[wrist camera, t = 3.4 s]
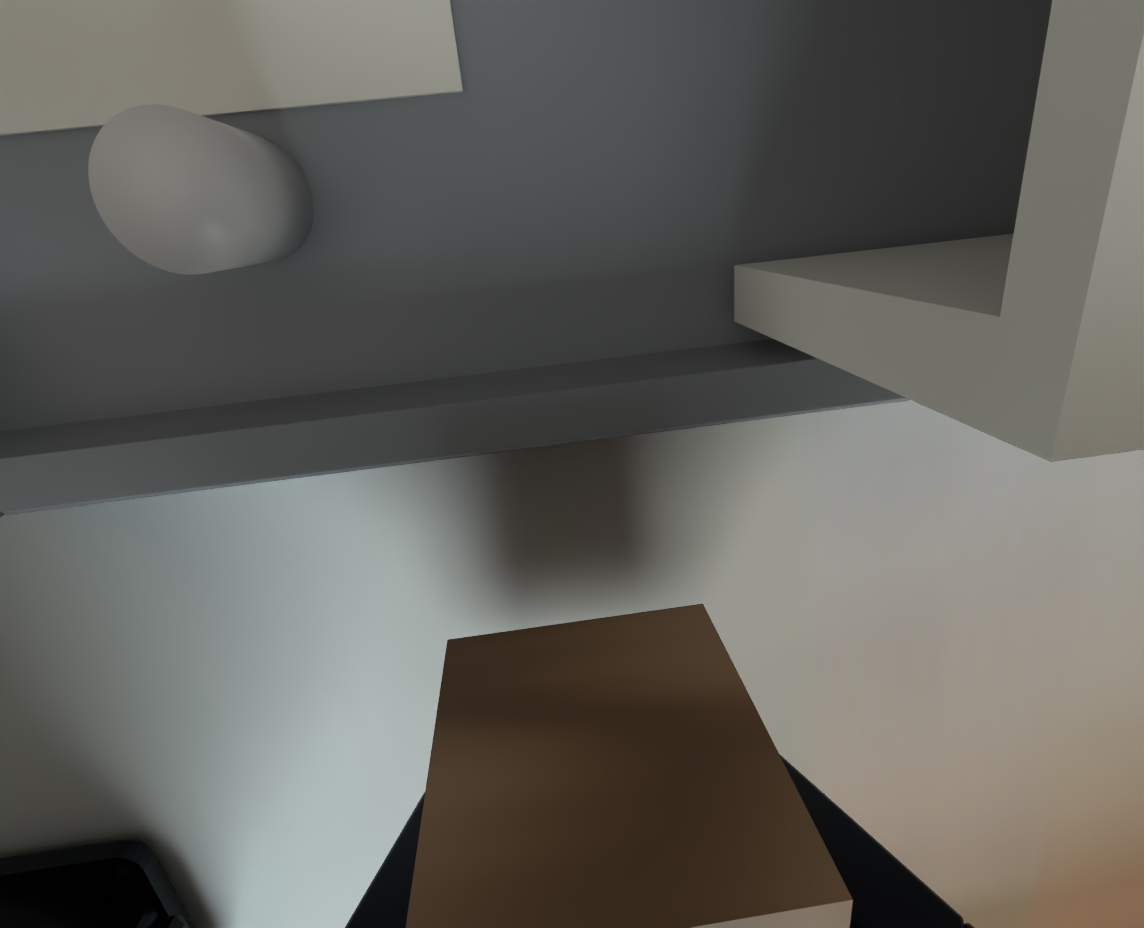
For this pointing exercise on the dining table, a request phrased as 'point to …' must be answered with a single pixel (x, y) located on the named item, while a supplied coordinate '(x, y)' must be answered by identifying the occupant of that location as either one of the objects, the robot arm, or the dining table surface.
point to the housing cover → (1009, 272)
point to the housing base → (455, 218)
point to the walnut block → (612, 788)
